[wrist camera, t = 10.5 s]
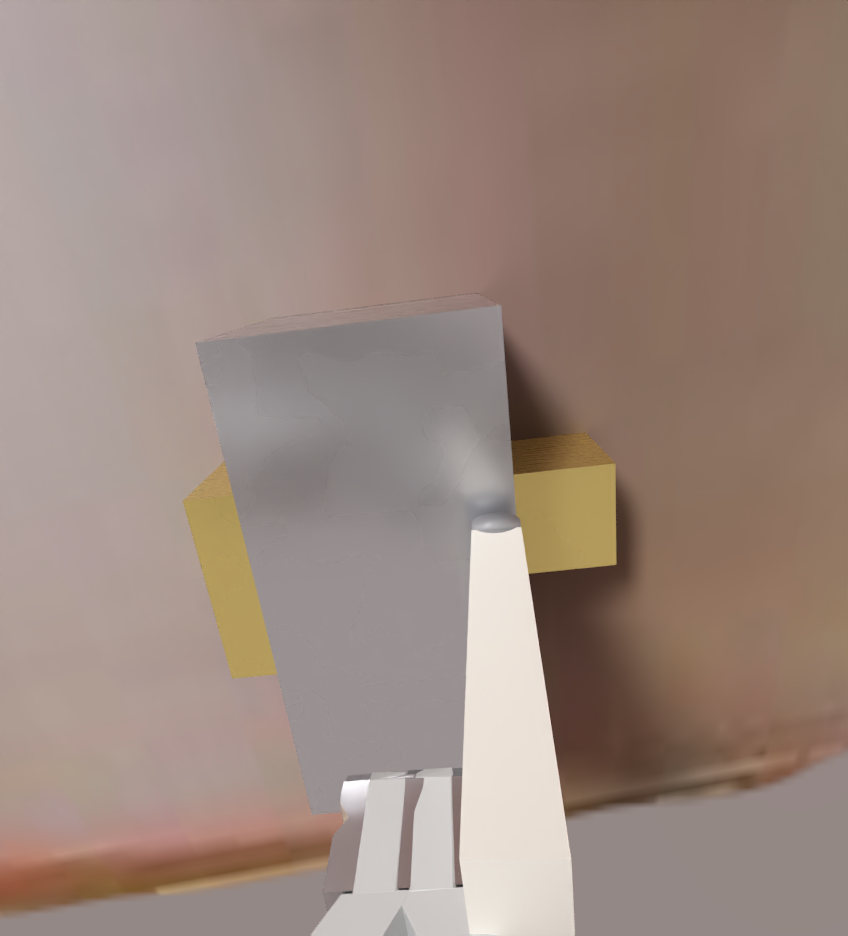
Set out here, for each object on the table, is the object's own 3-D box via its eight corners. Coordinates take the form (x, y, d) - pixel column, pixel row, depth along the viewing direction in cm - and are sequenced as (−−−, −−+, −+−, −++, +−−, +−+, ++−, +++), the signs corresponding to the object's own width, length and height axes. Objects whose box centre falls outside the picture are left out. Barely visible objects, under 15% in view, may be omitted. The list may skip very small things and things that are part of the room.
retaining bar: (487, 666, 14) (494, 1110, 7) (471, 513, 12) (460, 858, 5) (529, 665, 14) (583, 1115, 6) (518, 510, 12) (571, 859, 5)
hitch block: (342, 672, 21) (312, 814, 15) (270, 319, 17) (195, 342, 11) (507, 656, 20) (537, 795, 15) (476, 293, 16) (500, 305, 11)
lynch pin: (279, 579, 20) (232, 678, 15) (247, 439, 18) (183, 501, 13) (588, 547, 19) (641, 638, 14) (584, 400, 17) (643, 450, 13)
